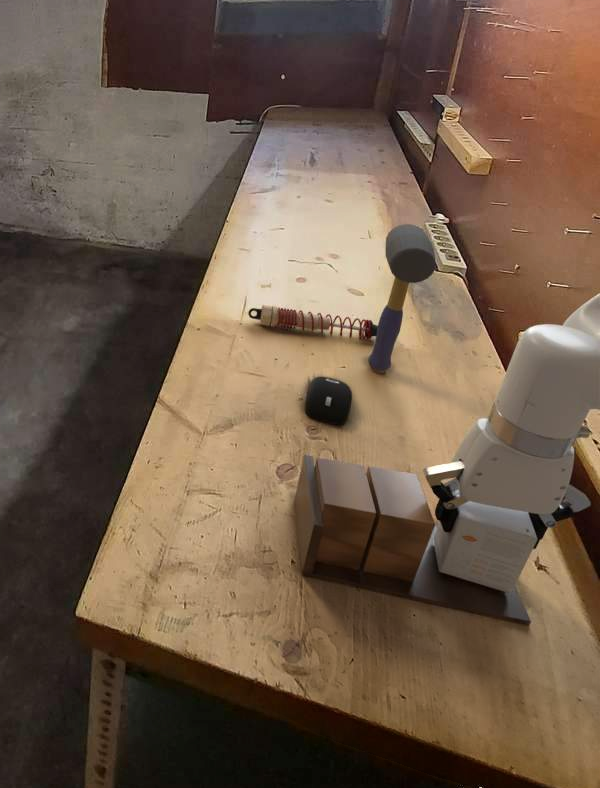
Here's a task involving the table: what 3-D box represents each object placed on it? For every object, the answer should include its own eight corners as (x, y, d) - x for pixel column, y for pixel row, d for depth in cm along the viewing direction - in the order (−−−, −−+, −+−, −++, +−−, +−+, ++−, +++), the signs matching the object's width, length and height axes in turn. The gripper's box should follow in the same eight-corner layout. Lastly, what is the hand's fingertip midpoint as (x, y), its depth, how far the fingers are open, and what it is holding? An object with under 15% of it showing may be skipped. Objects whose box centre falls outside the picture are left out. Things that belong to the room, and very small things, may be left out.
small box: (501, 557, 75) (527, 502, 70) (511, 595, 70) (540, 539, 66) (431, 537, 78) (452, 483, 73) (437, 572, 73) (459, 516, 69)
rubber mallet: (401, 392, 107) (444, 251, 94) (357, 383, 110) (393, 244, 96) (396, 356, 117) (433, 223, 104) (356, 348, 120) (388, 218, 107)
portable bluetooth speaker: (352, 390, 108) (356, 373, 106) (346, 430, 99) (351, 412, 97) (310, 379, 111) (314, 362, 109) (301, 416, 102) (304, 399, 100)
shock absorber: (392, 320, 123) (249, 301, 131) (398, 324, 118) (249, 304, 127) (389, 341, 123) (246, 320, 132) (395, 346, 118) (247, 324, 127)
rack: (490, 540, 79) (518, 480, 74) (529, 625, 68) (564, 563, 63) (293, 502, 86) (306, 445, 80) (301, 575, 75) (316, 514, 70)
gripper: (603, 417, 65) (550, 520, 72) (433, 394, 69) (400, 493, 77) (644, 466, 58) (581, 574, 66) (453, 437, 63) (415, 541, 70)
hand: (484, 530), depth 71 cm, fingers closed on small box, 8 cm apart
